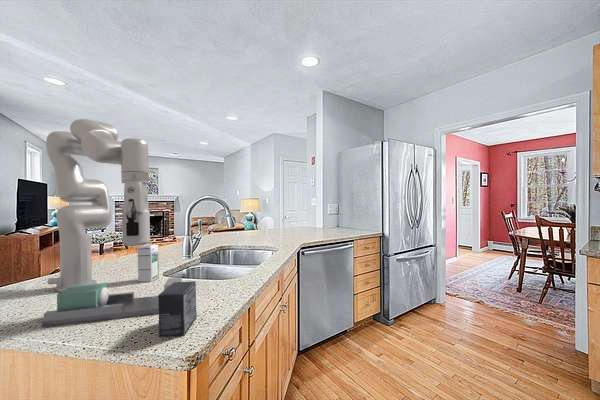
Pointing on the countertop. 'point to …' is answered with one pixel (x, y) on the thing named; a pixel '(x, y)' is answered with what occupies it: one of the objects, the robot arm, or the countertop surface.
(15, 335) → the countertop surface
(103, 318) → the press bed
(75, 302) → the block
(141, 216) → the can
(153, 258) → the syrup box
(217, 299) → the countertop surface
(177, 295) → the small box
